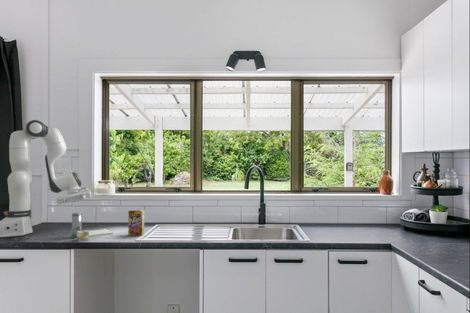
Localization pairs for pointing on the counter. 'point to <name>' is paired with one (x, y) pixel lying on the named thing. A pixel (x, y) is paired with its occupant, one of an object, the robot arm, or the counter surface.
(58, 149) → the robot arm
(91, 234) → the pad
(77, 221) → the tin
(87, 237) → the maple cube
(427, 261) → the counter surface
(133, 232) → the candy box
